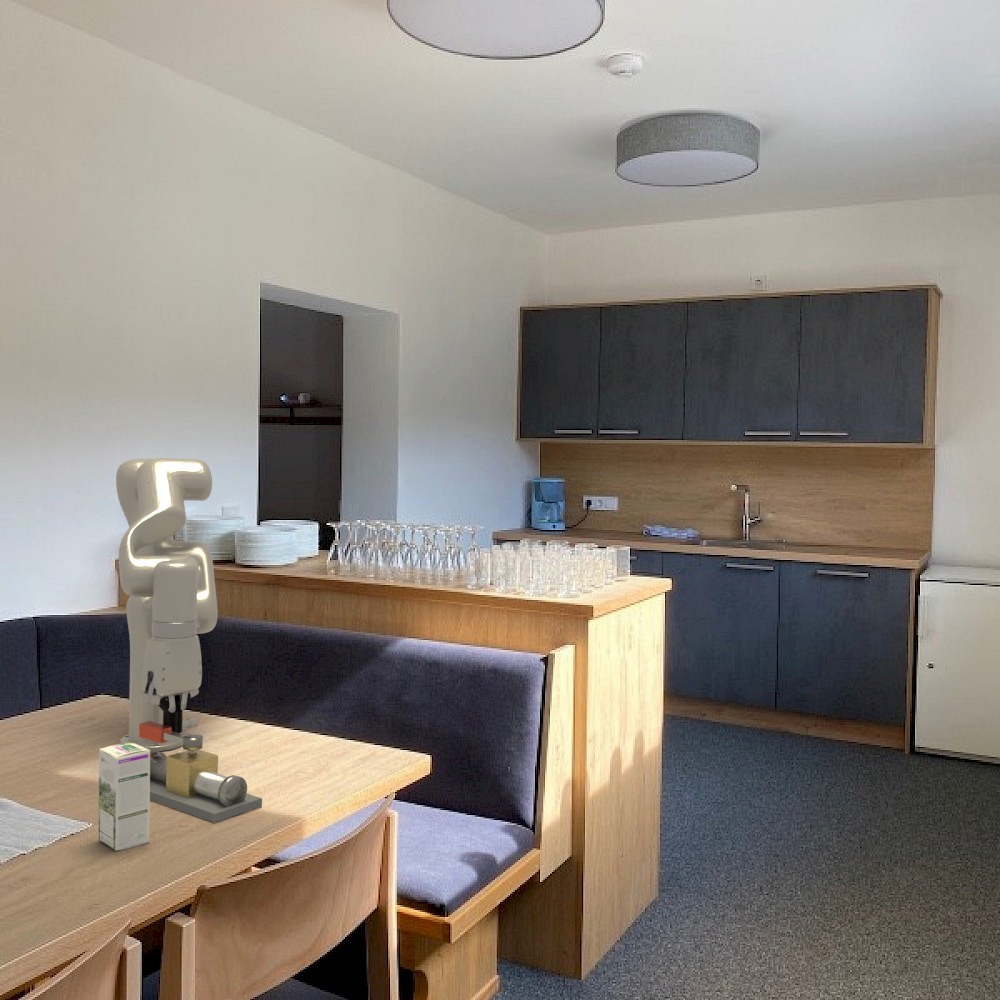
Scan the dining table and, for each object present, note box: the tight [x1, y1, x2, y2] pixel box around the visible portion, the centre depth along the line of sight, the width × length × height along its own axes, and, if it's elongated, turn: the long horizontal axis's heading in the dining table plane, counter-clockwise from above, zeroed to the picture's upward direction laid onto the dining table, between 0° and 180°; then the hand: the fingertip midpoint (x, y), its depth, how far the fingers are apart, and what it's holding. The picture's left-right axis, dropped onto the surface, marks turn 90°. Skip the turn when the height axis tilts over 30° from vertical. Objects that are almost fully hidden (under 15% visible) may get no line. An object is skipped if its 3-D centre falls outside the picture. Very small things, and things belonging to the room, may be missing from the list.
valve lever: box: [139, 721, 204, 756], centre depth 180 cm, size 15×3×3 cm, turn 56°
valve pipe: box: [150, 749, 248, 807], centre depth 177 cm, size 6×22×7 cm, turn 55°
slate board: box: [150, 779, 263, 824], centre depth 177 cm, size 10×24×2 cm, turn 55°
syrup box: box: [98, 742, 151, 851], centre depth 157 cm, size 6×6×14 cm
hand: (172, 732), depth 184 cm, fingers closed
